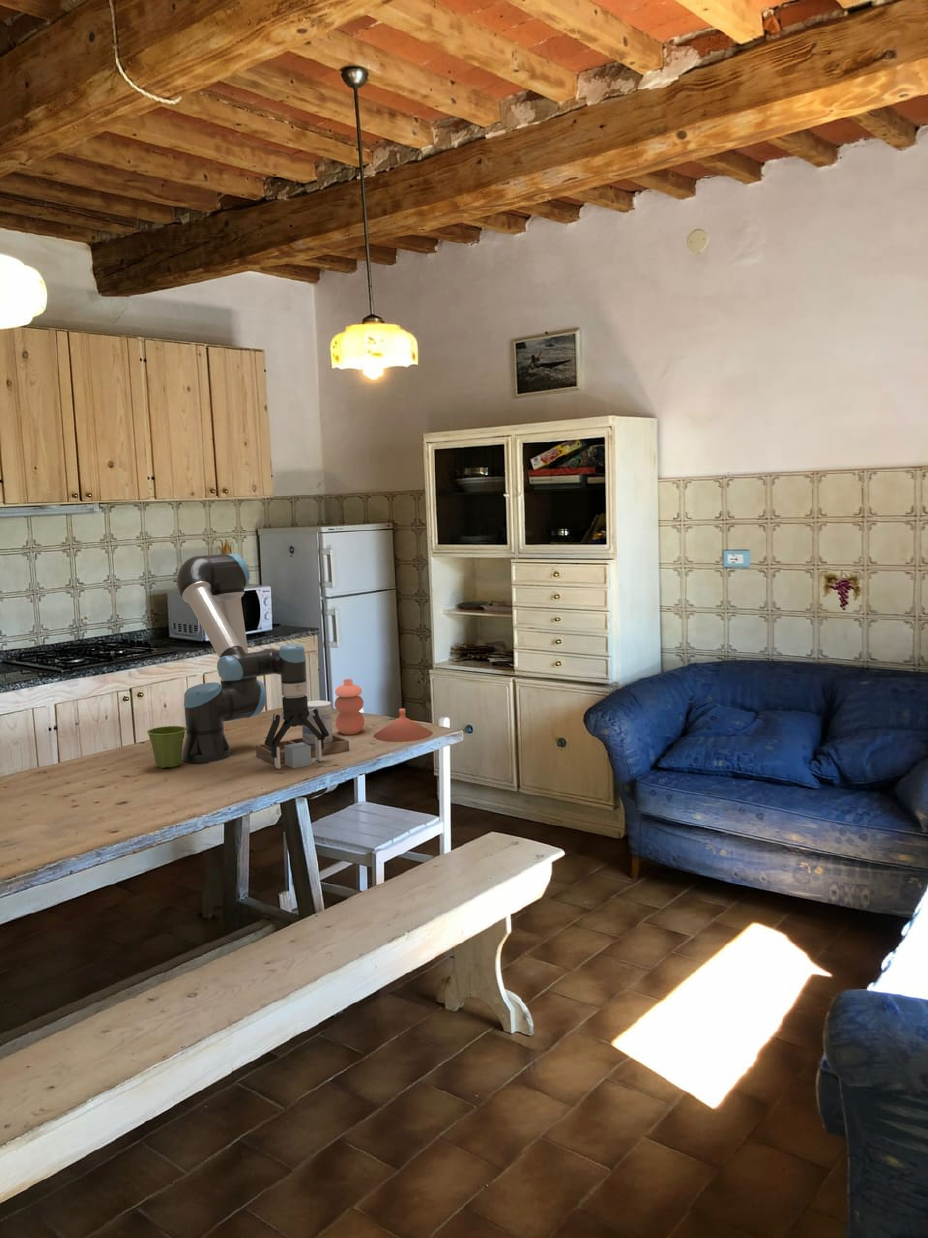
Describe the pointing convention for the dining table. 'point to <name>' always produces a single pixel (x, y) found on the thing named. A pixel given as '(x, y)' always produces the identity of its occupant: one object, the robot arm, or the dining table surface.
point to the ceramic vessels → (354, 721)
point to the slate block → (297, 755)
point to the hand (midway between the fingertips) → (298, 764)
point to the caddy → (330, 748)
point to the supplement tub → (325, 717)
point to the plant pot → (167, 745)
